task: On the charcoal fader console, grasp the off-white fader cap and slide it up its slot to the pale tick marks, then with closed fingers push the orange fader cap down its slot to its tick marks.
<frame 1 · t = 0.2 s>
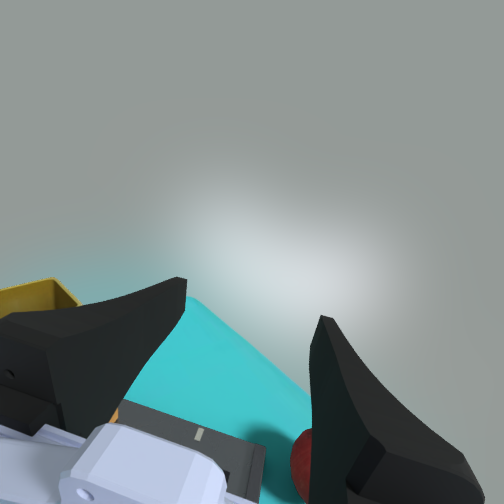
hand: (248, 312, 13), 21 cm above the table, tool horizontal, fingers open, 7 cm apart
onion: (311, 490, 24), on the table
flower pot: (35, 363, 31), on the table
fader b: (92, 412, 23), point 4 cm above the table, slide at 13.0 cm
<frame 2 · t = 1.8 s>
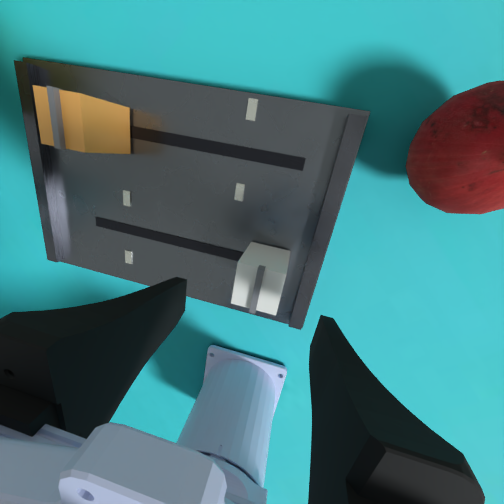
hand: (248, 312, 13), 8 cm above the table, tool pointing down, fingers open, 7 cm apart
onion: (437, 154, 15), on the table
console: (181, 201, 20), on the table
fader b: (86, 124, 15), point 4 cm above the table, slide at 13.0 cm
fader a: (262, 276, 17), point 4 cm above the table, slide at 0.0 cm
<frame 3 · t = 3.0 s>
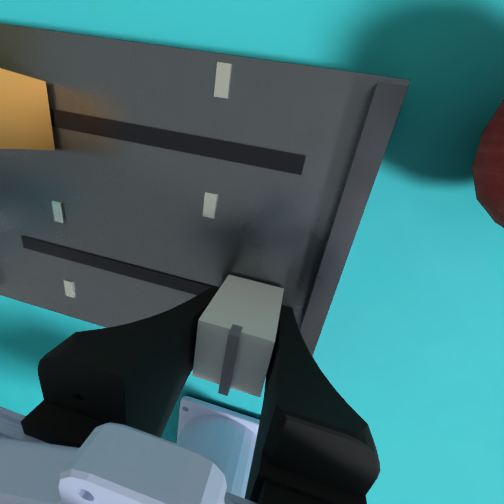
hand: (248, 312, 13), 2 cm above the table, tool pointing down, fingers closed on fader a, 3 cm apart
console: (135, 215, 14), on the table
fader a: (241, 330, 11), point 4 cm above the table, slide at 0.0 cm, touching gripper
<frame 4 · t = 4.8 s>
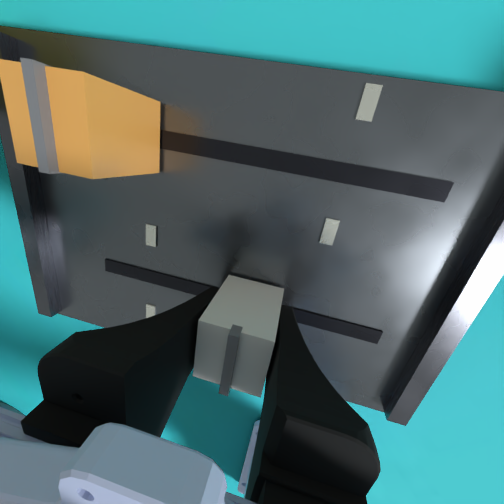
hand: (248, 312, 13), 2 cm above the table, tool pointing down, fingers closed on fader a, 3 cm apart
console: (228, 238, 14), on the table
fader b: (93, 128, 9), point 4 cm above the table, slide at 13.0 cm
fader a: (241, 330, 11), point 4 cm above the table, slide at 5.9 cm, touching gripper
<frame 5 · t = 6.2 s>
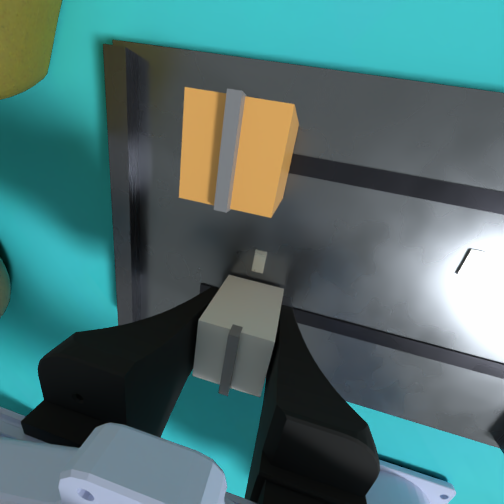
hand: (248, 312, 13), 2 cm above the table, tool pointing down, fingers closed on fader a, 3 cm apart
console: (337, 263, 13), on the table
fader b: (245, 156, 9), point 4 cm above the table, slide at 13.0 cm
fader a: (241, 330, 11), point 4 cm above the table, slide at 11.9 cm, touching gripper
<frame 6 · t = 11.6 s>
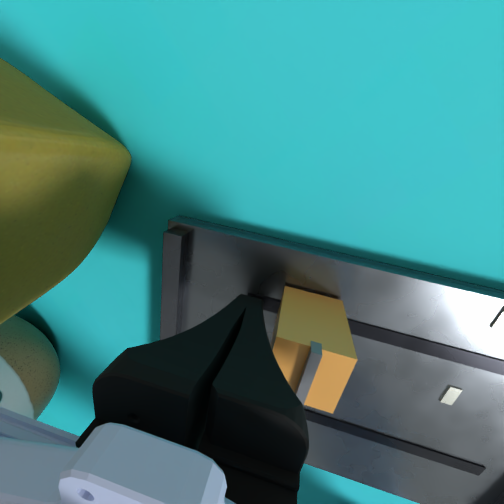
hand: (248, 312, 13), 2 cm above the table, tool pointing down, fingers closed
console: (343, 374, 16), on the table
vase: (35, 340, 22), on the table
flower pot: (89, 168, 15), on the table
fader b: (305, 344, 11), point 4 cm above the table, slide at 11.6 cm, touching gripper
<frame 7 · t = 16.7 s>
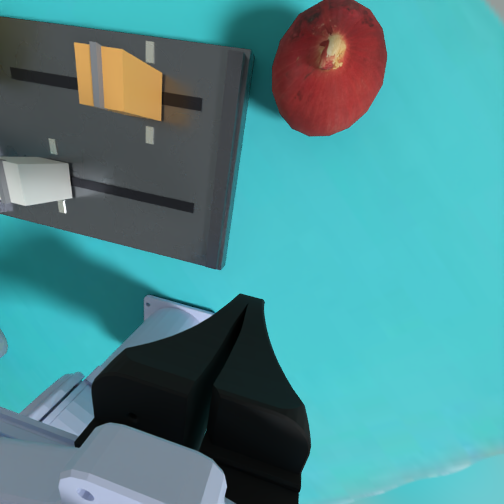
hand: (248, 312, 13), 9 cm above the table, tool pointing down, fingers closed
onion: (321, 94, 17), on the table
console: (105, 150, 21), on the table
fader b: (121, 86, 16), point 4 cm above the table, slide at 3.5 cm
fader a: (30, 179, 20), point 4 cm above the table, slide at 12.0 cm
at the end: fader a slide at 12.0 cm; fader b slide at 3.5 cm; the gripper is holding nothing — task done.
